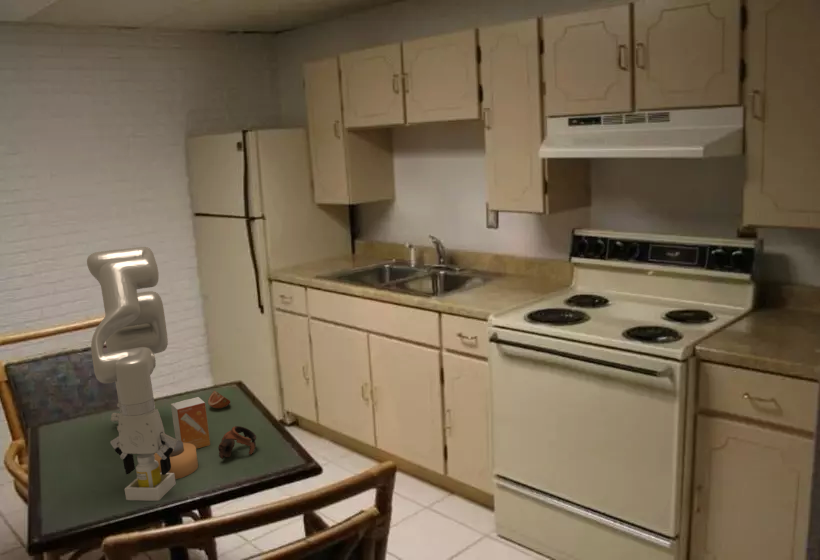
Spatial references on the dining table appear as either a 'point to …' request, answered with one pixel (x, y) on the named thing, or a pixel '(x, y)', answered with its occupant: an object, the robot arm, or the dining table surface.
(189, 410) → the small box
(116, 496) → the dining table surface
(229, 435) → the brown curved piece
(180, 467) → the disc and frame
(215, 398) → the fruit slice
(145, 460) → the supplement bottle
